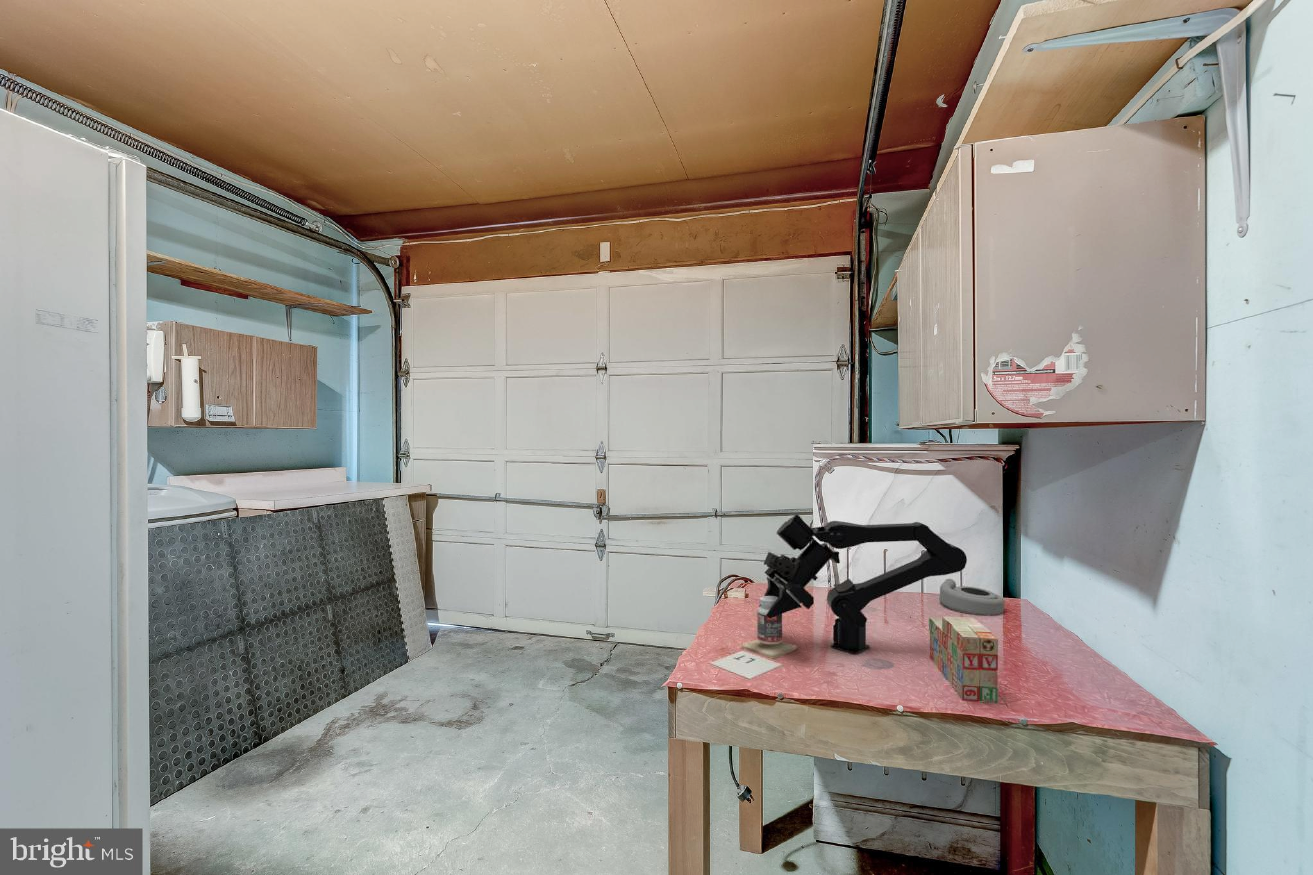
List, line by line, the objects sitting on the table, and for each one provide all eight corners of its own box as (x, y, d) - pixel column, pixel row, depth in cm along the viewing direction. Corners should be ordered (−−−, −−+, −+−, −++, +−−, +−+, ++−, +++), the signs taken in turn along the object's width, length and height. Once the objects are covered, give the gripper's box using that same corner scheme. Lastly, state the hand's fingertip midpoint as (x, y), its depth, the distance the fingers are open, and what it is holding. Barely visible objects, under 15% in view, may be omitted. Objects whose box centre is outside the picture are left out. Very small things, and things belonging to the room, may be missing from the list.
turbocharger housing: (997, 624, 156) (1007, 611, 167) (999, 601, 155) (1009, 589, 167) (931, 608, 166) (944, 597, 178) (932, 586, 166) (945, 576, 178)
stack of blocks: (928, 658, 128) (928, 603, 128) (959, 660, 127) (958, 604, 127) (962, 701, 107) (962, 635, 107) (998, 704, 106) (998, 637, 106)
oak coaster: (796, 648, 134) (796, 646, 134) (773, 658, 128) (773, 655, 128) (765, 638, 140) (765, 636, 140) (741, 647, 134) (741, 645, 134)
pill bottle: (768, 646, 130) (768, 602, 130) (752, 639, 135) (751, 597, 135) (787, 642, 133) (787, 599, 133) (770, 635, 138) (770, 593, 138)
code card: (782, 665, 124) (782, 664, 124) (749, 679, 117) (749, 678, 117) (742, 651, 132) (742, 650, 132) (710, 663, 125) (710, 663, 125)
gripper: (772, 534, 144) (729, 580, 143) (799, 547, 125) (750, 600, 124) (802, 564, 145) (760, 610, 143) (834, 582, 126) (786, 635, 125)
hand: (763, 613), depth 134 cm, fingers closed on pill bottle, 6 cm apart
